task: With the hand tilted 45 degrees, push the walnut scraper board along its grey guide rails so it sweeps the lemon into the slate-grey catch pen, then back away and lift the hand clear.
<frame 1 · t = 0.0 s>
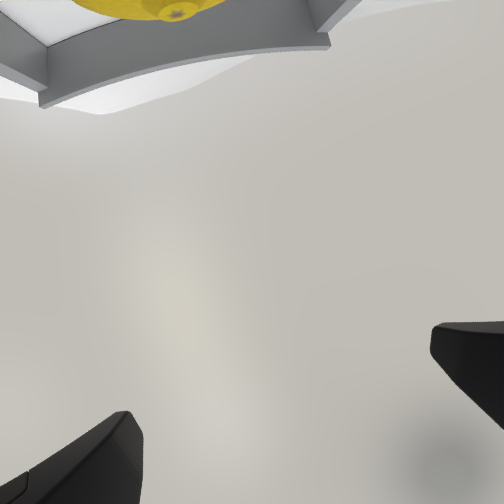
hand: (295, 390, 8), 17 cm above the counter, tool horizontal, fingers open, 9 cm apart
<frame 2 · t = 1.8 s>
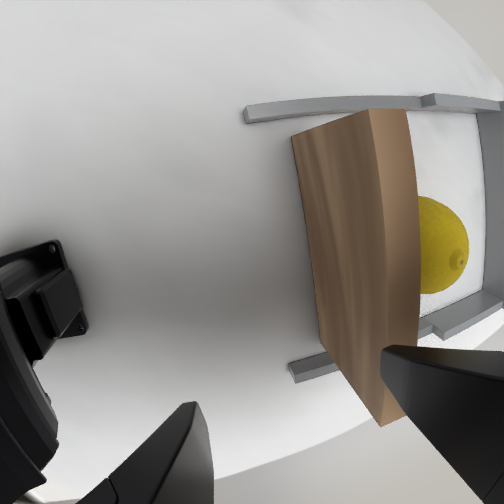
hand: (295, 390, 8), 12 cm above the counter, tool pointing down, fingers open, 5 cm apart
catch pen: (461, 211, 21), on the counter
lemon: (379, 230, 20), on the counter
scraper board: (353, 266, 15), point 5 cm above the counter, slide at 0.0 cm
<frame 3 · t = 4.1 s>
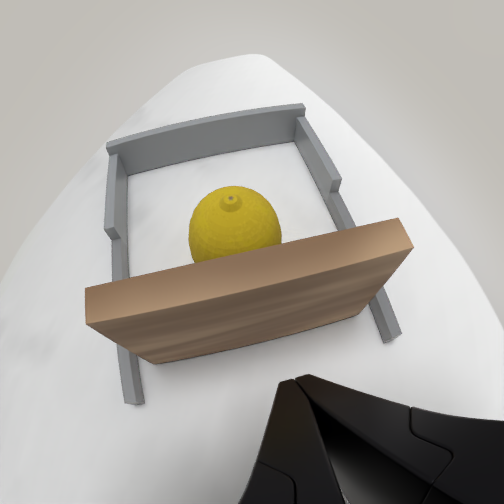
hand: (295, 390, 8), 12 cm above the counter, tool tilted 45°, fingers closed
catch pen: (217, 183, 26), on the counter
lemon: (239, 271, 22), on the counter
scraper board: (254, 308, 16), point 5 cm above the counter, slide at 0.0 cm
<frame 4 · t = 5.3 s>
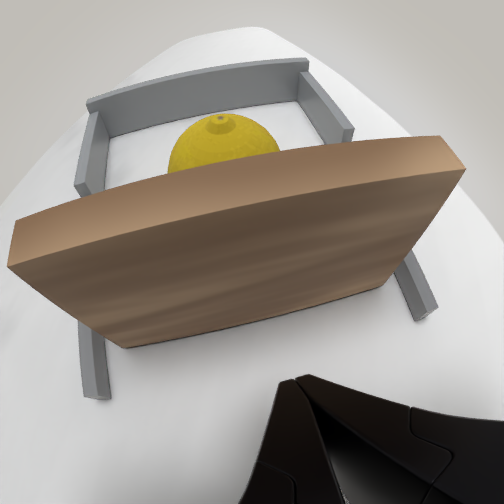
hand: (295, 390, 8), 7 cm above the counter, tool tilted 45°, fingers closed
catch pen: (209, 140, 22), on the counter
lemon: (233, 234, 18), on the counter
scraper board: (251, 263, 12), point 5 cm above the counter, slide at 0.0 cm
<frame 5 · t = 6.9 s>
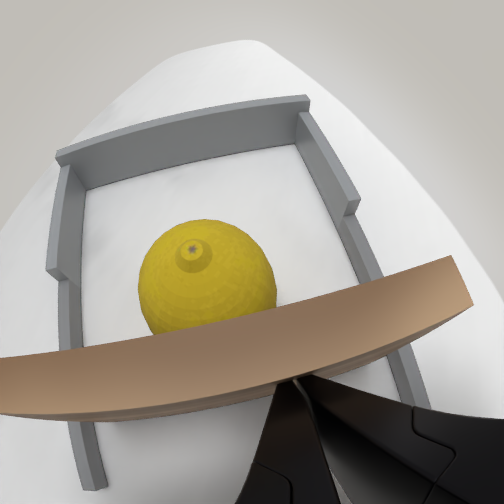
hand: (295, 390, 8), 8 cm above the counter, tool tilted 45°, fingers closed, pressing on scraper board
catch pen: (194, 200, 20), on the counter
lemon: (219, 324, 16), on the counter, touching scraper board
scraper board: (226, 379, 10), point 5 cm above the counter, slide at 1.3 cm, touching gripper, lemon
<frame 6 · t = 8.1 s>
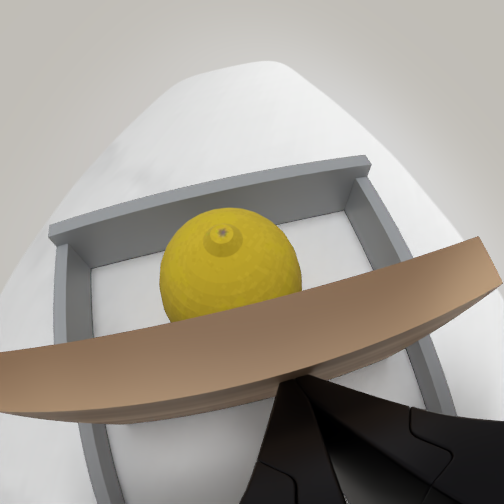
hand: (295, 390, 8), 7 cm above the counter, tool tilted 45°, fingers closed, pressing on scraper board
catch pen: (231, 294, 17), on the counter
lemon: (237, 321, 16), on the counter, touching scraper board
scraper board: (255, 372, 10), point 5 cm above the counter, slide at 8.2 cm, touching gripper, lemon
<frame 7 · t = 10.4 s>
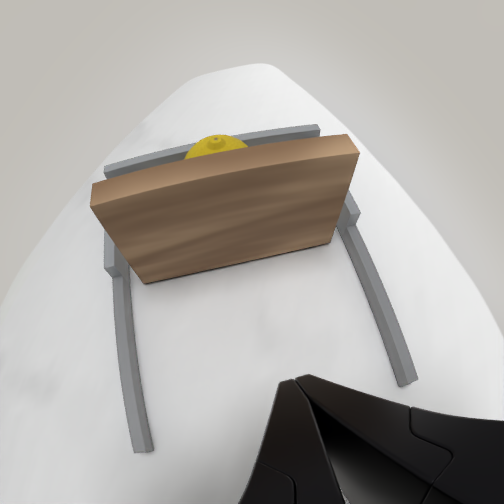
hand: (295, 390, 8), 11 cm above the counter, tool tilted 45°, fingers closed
catch pen: (225, 212, 25), on the counter
lemon: (226, 219, 25), on the counter, touching scraper board
scraper board: (231, 216, 19), point 5 cm above the counter, slide at 9.2 cm, touching lemon
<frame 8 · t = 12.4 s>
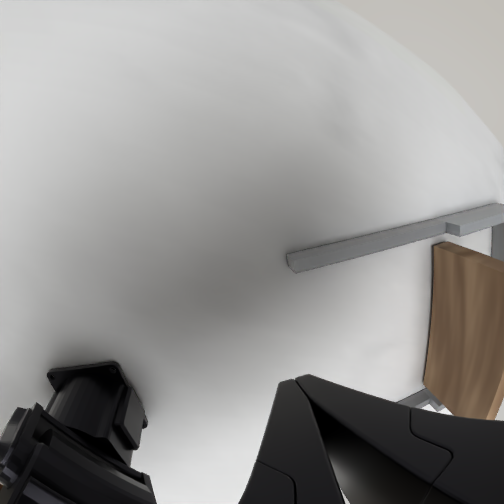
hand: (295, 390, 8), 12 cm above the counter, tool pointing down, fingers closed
catch pen: (465, 305, 24), on the counter
scraper board: (470, 344, 19), point 5 cm above the counter, slide at 9.2 cm, touching lemon
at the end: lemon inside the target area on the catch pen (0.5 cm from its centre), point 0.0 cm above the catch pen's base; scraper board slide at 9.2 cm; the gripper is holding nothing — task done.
